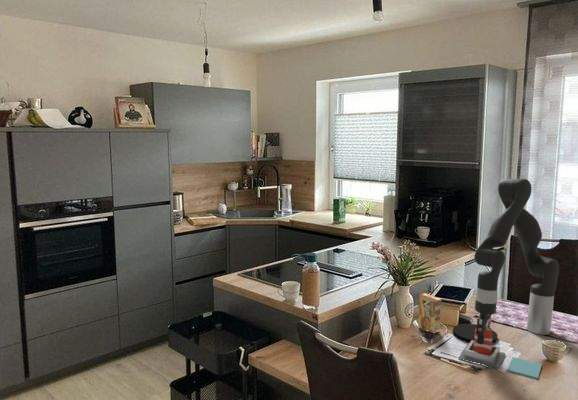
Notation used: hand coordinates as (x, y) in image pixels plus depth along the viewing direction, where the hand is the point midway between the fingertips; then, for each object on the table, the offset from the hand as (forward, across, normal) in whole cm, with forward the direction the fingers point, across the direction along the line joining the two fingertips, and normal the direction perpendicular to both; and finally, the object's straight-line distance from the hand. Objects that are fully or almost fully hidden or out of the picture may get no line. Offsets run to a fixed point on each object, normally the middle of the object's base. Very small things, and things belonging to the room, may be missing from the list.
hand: (482, 339), depth 182 cm
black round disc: (+8, -19, -7) cm, 22 cm away
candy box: (+7, -13, -25) cm, 29 cm away
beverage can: (+7, 0, 0) cm, 7 cm away
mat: (+7, 0, +15) cm, 17 cm away
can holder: (+7, 0, 0) cm, 7 cm away
